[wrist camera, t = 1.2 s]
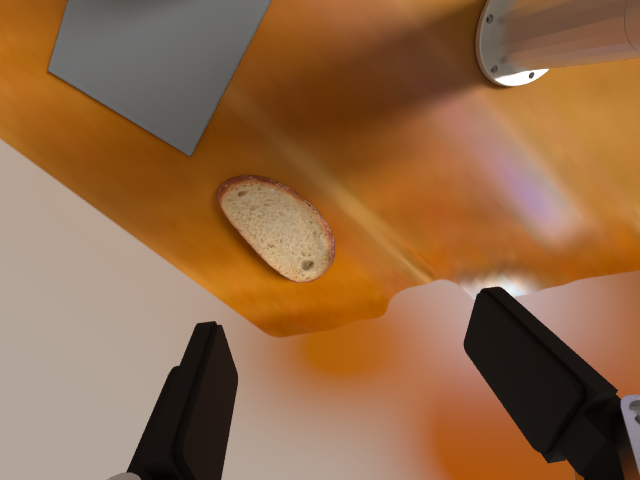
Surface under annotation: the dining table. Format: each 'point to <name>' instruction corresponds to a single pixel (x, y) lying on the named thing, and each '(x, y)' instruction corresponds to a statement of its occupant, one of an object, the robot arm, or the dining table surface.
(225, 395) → the robot arm
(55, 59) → the slate mat
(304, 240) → the slice of bread
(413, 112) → the dining table surface
